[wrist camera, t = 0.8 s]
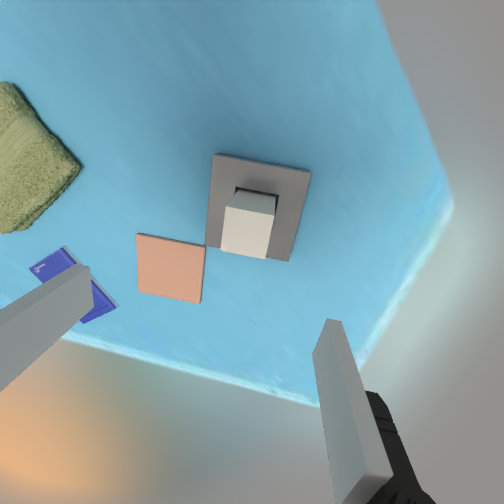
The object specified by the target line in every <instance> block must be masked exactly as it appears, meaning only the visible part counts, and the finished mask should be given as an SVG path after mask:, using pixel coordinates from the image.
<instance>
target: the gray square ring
mask: <svg viewBox="0 0 504 504" xmlns="http://www.w3.org/2000/svg"><path fill="white" fill-rule="evenodd" d="M311 175H312V173H311V172H310V171H307V170H302V169H297V168H292V167H286V166H281V165H276V164H271V163H265V162H260V161H255V160H250V159H244V158H239V157H234V156H229V155H223V154H214V155H213V158H212V169H211V179H210V190H209V201H208V212H207V222H206V233H205V244H204V245H206V246H212V247H217V248H221V241H222V233H223V225H224V217H225V209H226V205H227V204H228V203H229V202H230V200H231V199H232V198H233V196H234V195H235V194H236V193H237V189H238V187H241V188H246V189H251V190H256V191H261V192H266V193H272V194H277V195H279V196H278V200H277V205H276V210H275V216H274V221H273V225H272V230H271V235H270V239H269V244H268V248H267V253H266V257H267V258H272V259H277V260H282V261H289V258H290V254H291V250H292V246H293V243H294V239H295V235H296V231H297V227H298V224H299V220H300V216H301V212H302V209H303V205H304V201H305V197H306V194H307V190H308V186H309V182H310V179H311Z"/></svg>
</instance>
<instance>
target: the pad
mask: <svg viewBox="0 0 504 504" xmlns="http://www.w3.org/2000/svg"><path fill="white" fill-rule="evenodd" d="M136 243H137V268H138V292H142V293H147V294H152V295H157V296H162V297H167V298H172V299H177V300H182V301H187V302H192V303H197V304H200V302H201V293H202V282H203V272H204V262H205V251H206V246H202V245H197V244H192V243H187V242H182V241H177V240H172V239H167V238H162V237H157V236H152V235H147V234H142V233H137V234H136Z"/></svg>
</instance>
